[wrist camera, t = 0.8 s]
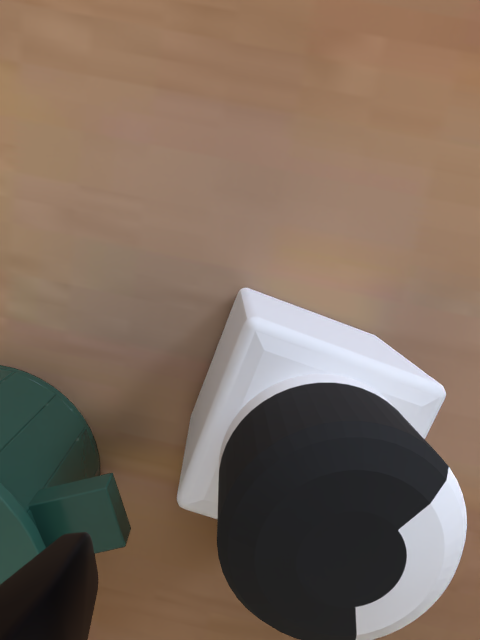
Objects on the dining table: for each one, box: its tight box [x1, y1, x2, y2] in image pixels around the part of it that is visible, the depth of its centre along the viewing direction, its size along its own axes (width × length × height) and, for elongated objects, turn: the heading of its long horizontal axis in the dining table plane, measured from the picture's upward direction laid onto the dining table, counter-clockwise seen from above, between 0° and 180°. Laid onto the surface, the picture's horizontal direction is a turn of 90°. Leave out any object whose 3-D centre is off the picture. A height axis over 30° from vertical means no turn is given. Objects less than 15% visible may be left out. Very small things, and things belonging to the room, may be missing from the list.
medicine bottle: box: [177, 288, 467, 640], centre depth 16 cm, size 7×7×12 cm
